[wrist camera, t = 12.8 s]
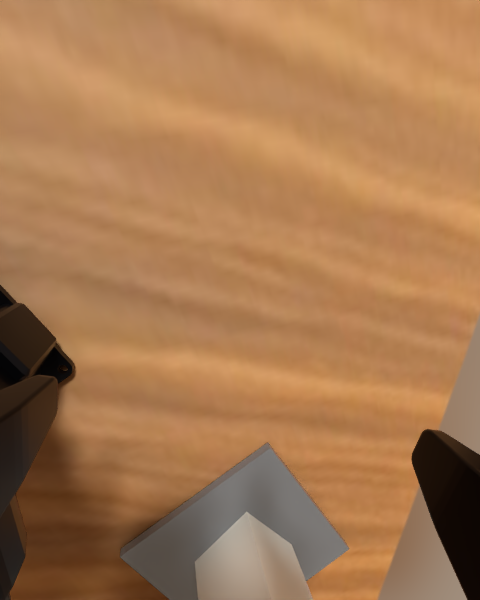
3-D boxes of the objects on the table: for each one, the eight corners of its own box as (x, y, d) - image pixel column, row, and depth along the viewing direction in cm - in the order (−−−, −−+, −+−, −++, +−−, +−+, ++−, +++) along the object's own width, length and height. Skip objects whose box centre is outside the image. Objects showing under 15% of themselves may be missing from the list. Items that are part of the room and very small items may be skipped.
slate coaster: (220, 635, 27) (221, 644, 26) (120, 548, 23) (119, 557, 22) (345, 541, 27) (349, 548, 27) (267, 442, 23) (270, 447, 23)
